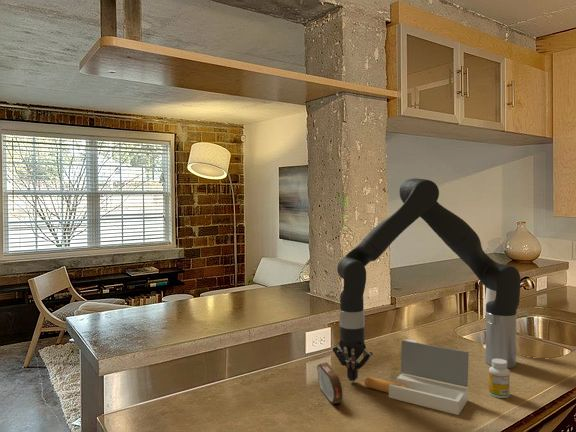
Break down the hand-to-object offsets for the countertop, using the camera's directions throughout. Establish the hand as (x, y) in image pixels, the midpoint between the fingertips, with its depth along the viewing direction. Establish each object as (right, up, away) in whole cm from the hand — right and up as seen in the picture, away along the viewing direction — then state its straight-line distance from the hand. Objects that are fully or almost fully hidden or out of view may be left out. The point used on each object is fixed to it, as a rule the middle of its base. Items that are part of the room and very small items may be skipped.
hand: (352, 380), depth 141 cm
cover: (+22, +8, -8) cm, 25 cm away
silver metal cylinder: (+56, +2, +28) cm, 62 cm away
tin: (-8, -2, -9) cm, 12 cm away
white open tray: (+19, -1, -12) cm, 23 cm away
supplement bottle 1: (+21, 0, +12) cm, 24 cm away
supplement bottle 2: (+40, -1, -10) cm, 41 cm away
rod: (+9, -1, -6) cm, 11 cm away
